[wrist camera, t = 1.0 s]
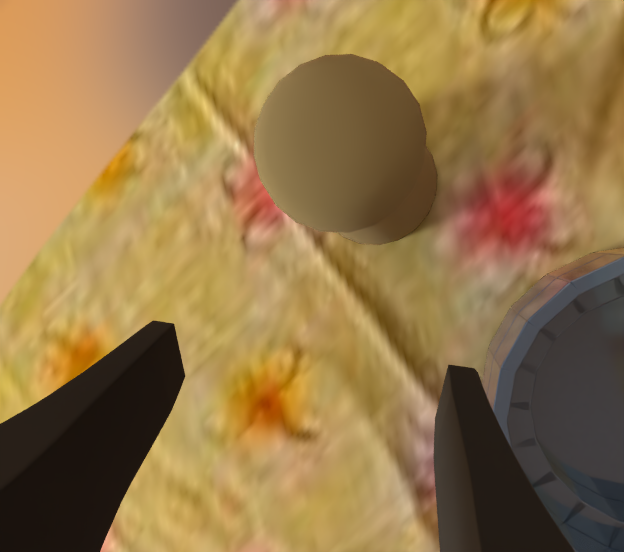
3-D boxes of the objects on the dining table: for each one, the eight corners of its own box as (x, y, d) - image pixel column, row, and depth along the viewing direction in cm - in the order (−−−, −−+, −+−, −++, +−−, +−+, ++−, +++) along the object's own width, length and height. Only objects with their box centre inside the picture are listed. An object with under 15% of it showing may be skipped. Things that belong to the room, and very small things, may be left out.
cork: (431, 110, 23) (431, -6, 12) (442, 238, 23) (453, 234, 12) (308, 131, 24) (211, 44, 14) (320, 250, 24) (235, 257, 14)
